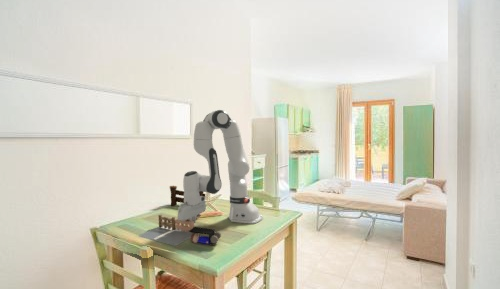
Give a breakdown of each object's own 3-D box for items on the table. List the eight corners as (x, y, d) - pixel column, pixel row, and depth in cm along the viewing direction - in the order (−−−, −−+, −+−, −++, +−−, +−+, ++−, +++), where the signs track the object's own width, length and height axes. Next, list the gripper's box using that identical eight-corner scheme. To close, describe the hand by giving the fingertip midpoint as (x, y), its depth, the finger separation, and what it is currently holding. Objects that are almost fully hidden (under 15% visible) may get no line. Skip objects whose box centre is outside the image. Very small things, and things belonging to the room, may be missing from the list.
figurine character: (220, 244, 129) (193, 238, 132) (222, 229, 128) (194, 224, 131) (216, 250, 122) (187, 244, 125) (217, 235, 121) (188, 229, 125)
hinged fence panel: (174, 229, 143) (174, 219, 143) (177, 228, 145) (176, 218, 144) (192, 233, 137) (192, 222, 137) (195, 232, 139) (194, 221, 138)
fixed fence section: (176, 229, 145) (176, 217, 145) (174, 230, 143) (173, 218, 143) (160, 226, 151) (160, 214, 150) (158, 227, 149) (157, 215, 149)
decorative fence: (206, 208, 184) (205, 188, 183) (201, 211, 179) (200, 190, 178) (172, 203, 199) (171, 185, 199) (167, 205, 194) (166, 186, 193)
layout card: (203, 230, 143) (203, 229, 143) (176, 246, 124) (176, 245, 124) (167, 223, 156) (167, 222, 156) (137, 236, 137) (137, 235, 137)
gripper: (183, 205, 133) (184, 231, 134) (207, 196, 151) (207, 218, 152) (174, 204, 136) (175, 229, 137) (198, 195, 154) (199, 217, 155)
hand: (192, 223), depth 144 cm, fingers closed
